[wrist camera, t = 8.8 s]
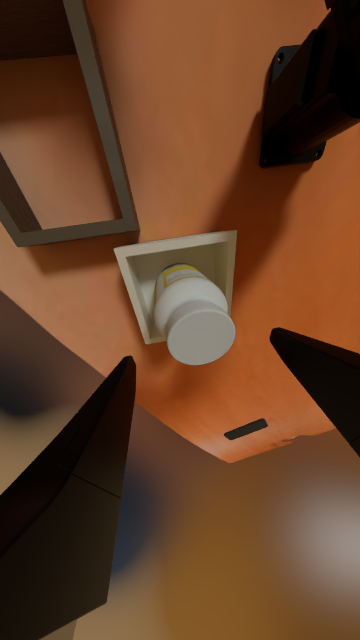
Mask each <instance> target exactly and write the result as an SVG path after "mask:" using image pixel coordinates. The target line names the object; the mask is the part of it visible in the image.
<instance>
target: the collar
mask: <svg viewBox="0 0 360 640" xmlns="http://www.w3.org/2000/svg"><path fill="white" fill-rule="evenodd" d="M68 54H78V58H79V61H80V65H81V68H82V72H83V76H84V79H85V83H86V86H87V90H88V94H89V97H90V101H91V104H92V108H93V112H94V115H95V119H96V123H97V126H98V130H99V133H100V137H101V141H102V144H103V148H104V151H105V155H106V159H107V162H108V166H109V169H110V173H111V177H112V180H113V184H114V188H115V191H116V195H117V198H118V202H119V206H120V209H121V213H122V216H123V219H117V220H110V221H102V222H95V223H88V224H81V225H74V226H67V227H60V228H53V229H46V230H42V228H41V226H40V225H39V223H38V221H37V219H36V217H35V215H34V214H33V212H32V210H31V208H30V206H29V204H28V203H27V201H26V199H25V197H24V195H23V193H22V192H21V190H20V188H19V186H18V184H17V182H16V181H15V179H14V177H13V175H12V173H11V171H10V169H9V168H8V166H7V164H6V162H5V160H4V158H3V157H2V155H1V153H0V221H1V223H2V224H3V226H4V227H5V229H6V230H7V232H8V233H9V235H10V237H11V238H12V240H13V241H14V243H15V244H16V246H17V247H26V246H37V245H45V244H52V243H59V242H66V241H73V240H80V239H86V238H93V237H100V236H107V235H114V234H121V233H127V232H134V231H140V227H139V222H138V218H137V214H136V210H135V205H134V201H133V197H132V192H131V188H130V184H129V179H128V175H127V171H126V166H125V162H124V158H123V154H122V149H121V145H120V141H119V136H118V132H117V128H116V123H115V119H114V115H113V111H112V106H111V102H110V98H109V93H108V89H107V85H106V80H105V76H104V72H103V68H102V63H101V59H100V55H99V50H98V46H97V42H96V37H95V33H94V29H93V25H92V21H91V18H90V15H89V12H88V9H87V5H86V2H85V0H0V60H8V59H20V58H32V57H44V56H56V55H68Z"/></svg>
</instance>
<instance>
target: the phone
mask: <svg viewBox="0 0 360 640" xmlns="http://www.w3.org/2000/svg"><path fill="white" fill-rule="evenodd" d="M267 426H268V425H267V423H266V421H265V419H259V420H257V421H254V422H251V423H249V424H247V425H244V426H242V427H239V428H237V429H234V430H232V431H229V432H227V433H225V434H224V436H225V437H227V438H228V439H229V440H234V439H236V438H239V437H242V436H244V435H247V434H250V433H252V432H255V431H258V430H260V429H263V428H266V427H267Z"/></svg>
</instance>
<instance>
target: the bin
mask: <svg viewBox="0 0 360 640" xmlns="http://www.w3.org/2000/svg"><path fill="white" fill-rule="evenodd" d="M236 239H237V230H230V231H217V232H210V233H203V234H197V235H190V236H183V237H177V238H170V239H163V240H157V241H150V242H144V243H137V244H130V245H124V246H120V247H117V248H114V252H115V255H116V258H117V261H118V264H119V267H120V270H121V273H122V276H123V278H124V281H125V284H126V287H127V290H128V293H129V296H130V299H131V302H132V305H133V308H134V311H135V314H136V317H137V320H138V323H139V326H140V329H141V332H142V335H143V338H144V341H145V344H146V345H147V344H152V343H158V342H163V341H167V340H166V339H165V338H163V337H162V335H161V334H160V333H159V331H158V330H157V328H156V325H155V321H154V297H155V284H156V280H157V278H158V276H159V274H160V273H161V272H162V271H163V270H164V269H165V268H166V267H168V266H170V265H172V264H175V263H186V264H189V265H191V266H193V267H195V268H196V269H197V270H198V271H200V272H201V273H202V274H203V275H204V276H206V277H207V278H208V279H209V280H210V281H211V282H213V283H214V284H215V285H216V286H217V287H218V288H219V289H220V290H221V291H222V293H223V294H224V296H225V298H226V301H227V306H228V313H227V315H228V316H229V317H231V304H232V291H233V278H234V265H235V252H236Z"/></svg>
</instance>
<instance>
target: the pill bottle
mask: <svg viewBox="0 0 360 640" xmlns="http://www.w3.org/2000/svg"><path fill="white" fill-rule="evenodd" d="M227 313H228V306H227V301H226V298H225V296H224V294H223V293H222V291H221V290H220V289H219V288H218V287H217V286H216V285H215V284H214V283H213V282H211V281H210V280H209V279H208V278H207V277H206V276H204V275H203V274H202V273H201V272H200V271H198V270H197V269H196V268H195V267H193V266H191V265H189V264H186V263H175V264H172V265H170V266H168V267H166V268H165V269H164V270H163V271H162V272H161V273H160V274H159V276H158V278H157V280H156V284H155V297H154V321H155V325H156V328H157V330H158V331H159V333H160V334H161V335H162V337H163V338H165V339H166V340H167V347H168V350H169V352H170V354H171V355H172V356H173V357H174V358H175V359H176V360H178V361H179V362H181V363H184V364H188V365H203V364H207V363H210V362H213V361H215V360H217V359H218V358H220V357H221V356H223V355H224V354H225V353H226V352H227V351H228V350H229V349H230V347H231V346H232V344H233V342H234V339H235V326H234V323H233V322H232V320H231V318H230V317H229V316H228V315H227Z"/></svg>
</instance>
